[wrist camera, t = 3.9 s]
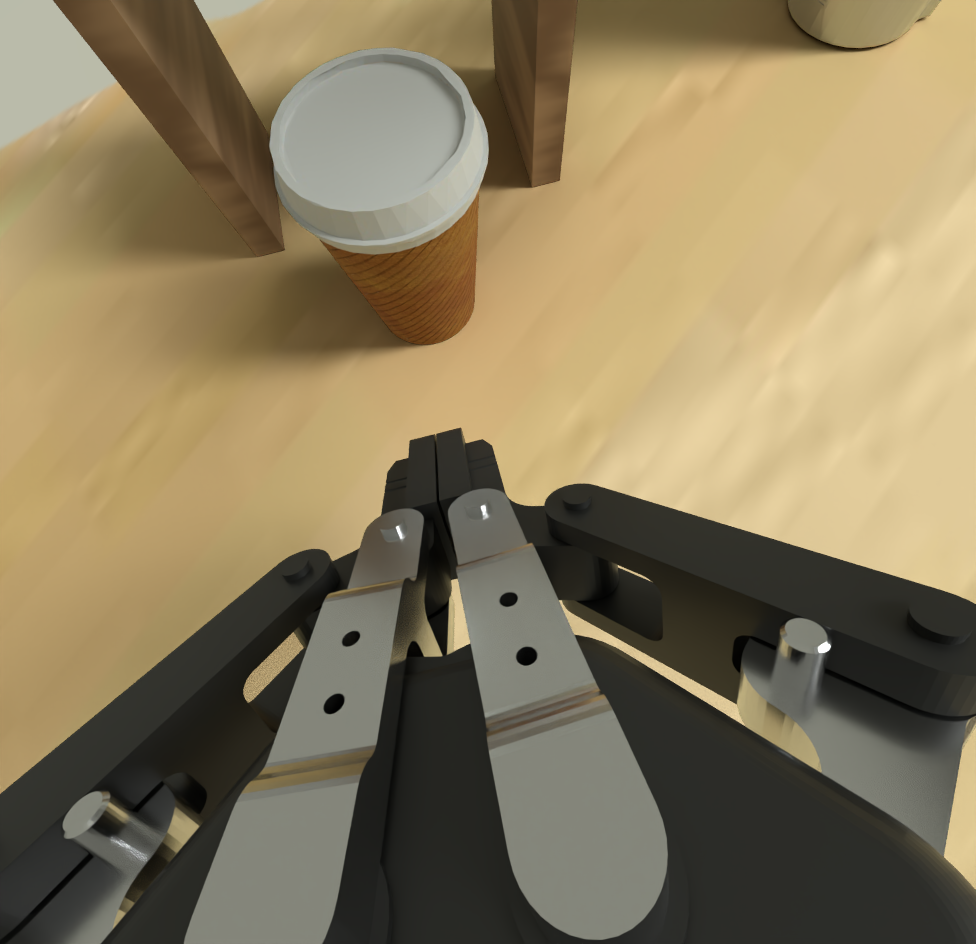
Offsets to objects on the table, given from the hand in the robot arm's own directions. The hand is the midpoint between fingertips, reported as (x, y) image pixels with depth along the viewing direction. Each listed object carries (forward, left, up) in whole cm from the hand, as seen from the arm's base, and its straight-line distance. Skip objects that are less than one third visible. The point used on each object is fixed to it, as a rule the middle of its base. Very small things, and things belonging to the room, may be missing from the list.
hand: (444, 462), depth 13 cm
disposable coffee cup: (0, -15, -14) cm, 21 cm away
